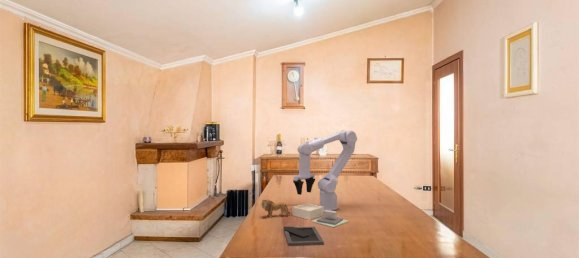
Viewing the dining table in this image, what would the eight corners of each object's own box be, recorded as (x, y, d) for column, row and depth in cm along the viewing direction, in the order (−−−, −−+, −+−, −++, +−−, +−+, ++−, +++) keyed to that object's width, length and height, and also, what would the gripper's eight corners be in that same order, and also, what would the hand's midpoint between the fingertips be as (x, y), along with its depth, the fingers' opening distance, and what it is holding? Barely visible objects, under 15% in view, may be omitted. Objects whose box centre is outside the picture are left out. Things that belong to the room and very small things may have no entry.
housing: (306, 211, 164) (306, 202, 164) (323, 215, 157) (324, 206, 157) (292, 215, 156) (292, 206, 156) (309, 220, 149) (309, 211, 149)
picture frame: (283, 231, 134) (288, 247, 117) (283, 226, 134) (288, 241, 117) (314, 230, 136) (323, 246, 118) (314, 225, 136) (323, 240, 118)
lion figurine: (263, 219, 150) (263, 200, 149) (259, 216, 154) (259, 197, 154) (292, 216, 155) (292, 197, 155) (288, 213, 160) (288, 195, 160)
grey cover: (325, 216, 152) (325, 207, 152) (343, 220, 148) (343, 210, 148) (316, 221, 145) (316, 212, 145) (335, 225, 140) (335, 215, 140)
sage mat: (327, 216, 155) (327, 215, 155) (348, 221, 146) (348, 220, 146) (311, 221, 146) (311, 220, 146) (333, 227, 138) (333, 226, 138)
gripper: (307, 164, 171) (307, 190, 171) (289, 167, 160) (288, 194, 160) (317, 166, 166) (317, 192, 166) (300, 168, 156) (299, 196, 156)
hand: (304, 193), depth 163 cm, fingers open, 7 cm apart
